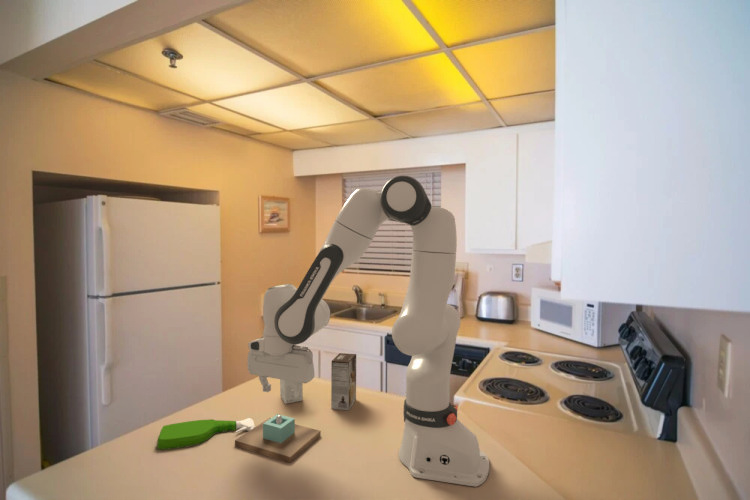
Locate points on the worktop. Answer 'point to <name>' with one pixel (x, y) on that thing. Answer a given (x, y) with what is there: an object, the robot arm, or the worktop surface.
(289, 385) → the skincare box
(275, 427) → the teal square ring
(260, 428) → the walnut board
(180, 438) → the spray bottle
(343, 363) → the coffee box
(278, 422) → the clear glass vial
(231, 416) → the worktop surface
